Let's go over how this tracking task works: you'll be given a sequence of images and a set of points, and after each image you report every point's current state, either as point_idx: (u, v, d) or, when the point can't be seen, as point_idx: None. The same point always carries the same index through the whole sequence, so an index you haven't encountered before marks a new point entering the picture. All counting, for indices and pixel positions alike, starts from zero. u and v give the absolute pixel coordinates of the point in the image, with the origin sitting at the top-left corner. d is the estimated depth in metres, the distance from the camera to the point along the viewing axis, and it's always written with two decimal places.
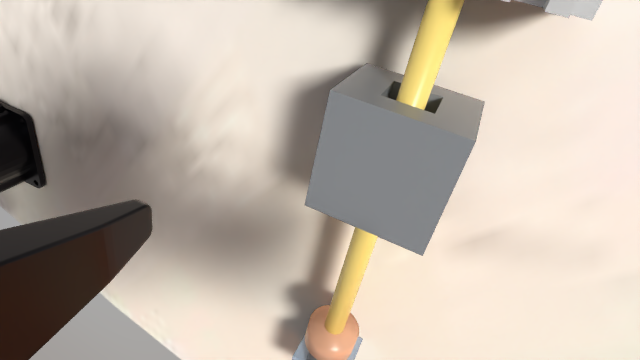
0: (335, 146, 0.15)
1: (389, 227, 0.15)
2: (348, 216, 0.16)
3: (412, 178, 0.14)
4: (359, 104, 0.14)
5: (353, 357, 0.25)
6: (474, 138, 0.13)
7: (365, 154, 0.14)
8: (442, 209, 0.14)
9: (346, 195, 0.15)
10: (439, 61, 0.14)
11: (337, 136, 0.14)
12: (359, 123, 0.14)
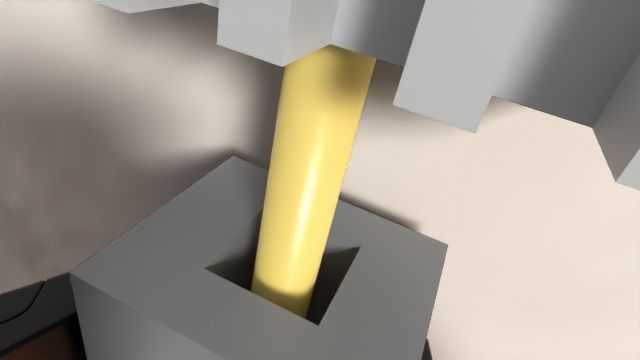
0: None
1: None
2: None
3: None
4: (130, 312, 0.06)
5: None
6: None
7: None
8: None
9: None
10: (326, 205, 0.06)
11: (113, 356, 0.07)
12: (142, 346, 0.06)
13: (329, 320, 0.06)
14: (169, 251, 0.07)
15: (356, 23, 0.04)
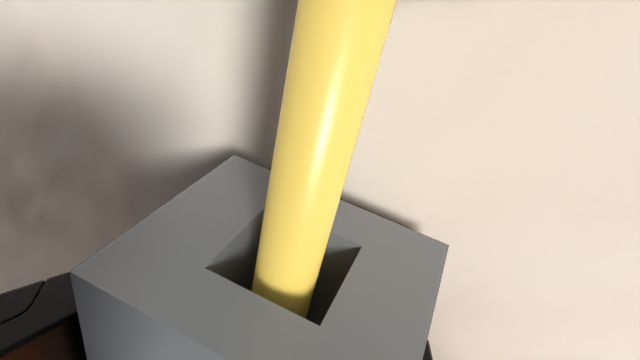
0: None
1: None
2: None
3: None
4: (132, 312, 0.06)
5: None
6: None
7: None
8: None
9: None
10: None
11: (113, 355, 0.07)
12: (143, 346, 0.06)
13: (330, 320, 0.06)
14: (170, 250, 0.06)
15: None
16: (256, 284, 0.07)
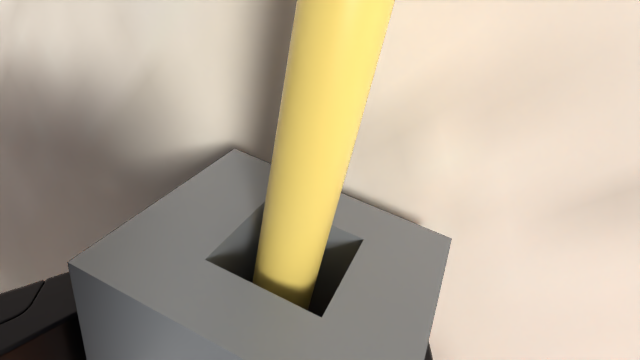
0: None
1: None
2: None
3: None
4: (130, 303, 0.06)
5: None
6: None
7: None
8: None
9: None
10: None
11: (112, 349, 0.06)
12: (142, 338, 0.06)
13: (332, 312, 0.06)
14: (169, 242, 0.06)
15: None
16: None
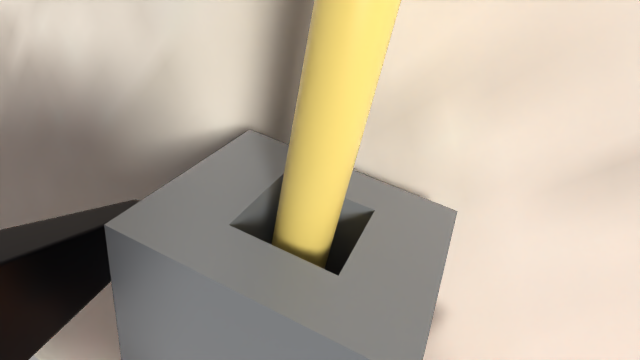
0: (144, 324, 0.07)
1: None
2: None
3: None
4: (163, 260, 0.06)
5: None
6: None
7: (198, 349, 0.07)
8: None
9: None
10: None
11: (142, 308, 0.07)
12: (173, 295, 0.06)
13: (348, 271, 0.06)
14: (195, 209, 0.07)
15: None
16: None
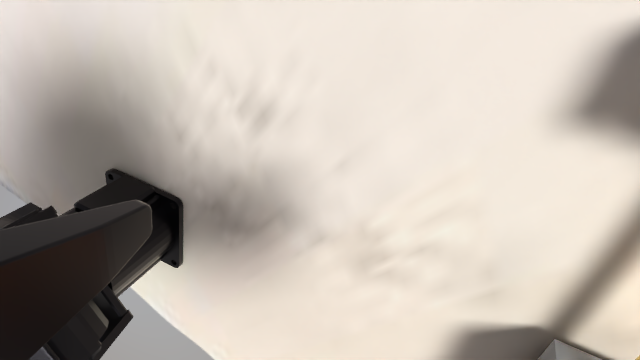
0: None
1: None
2: None
3: None
4: None
5: None
6: None
7: None
8: None
9: None
10: None
11: None
12: None
13: None
14: None
15: None
16: None
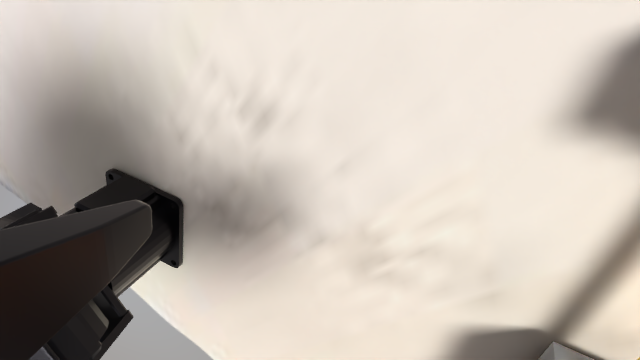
0: None
1: None
2: None
3: None
4: None
5: None
6: None
7: None
8: None
9: None
10: None
11: None
12: None
13: None
14: None
15: None
16: None
